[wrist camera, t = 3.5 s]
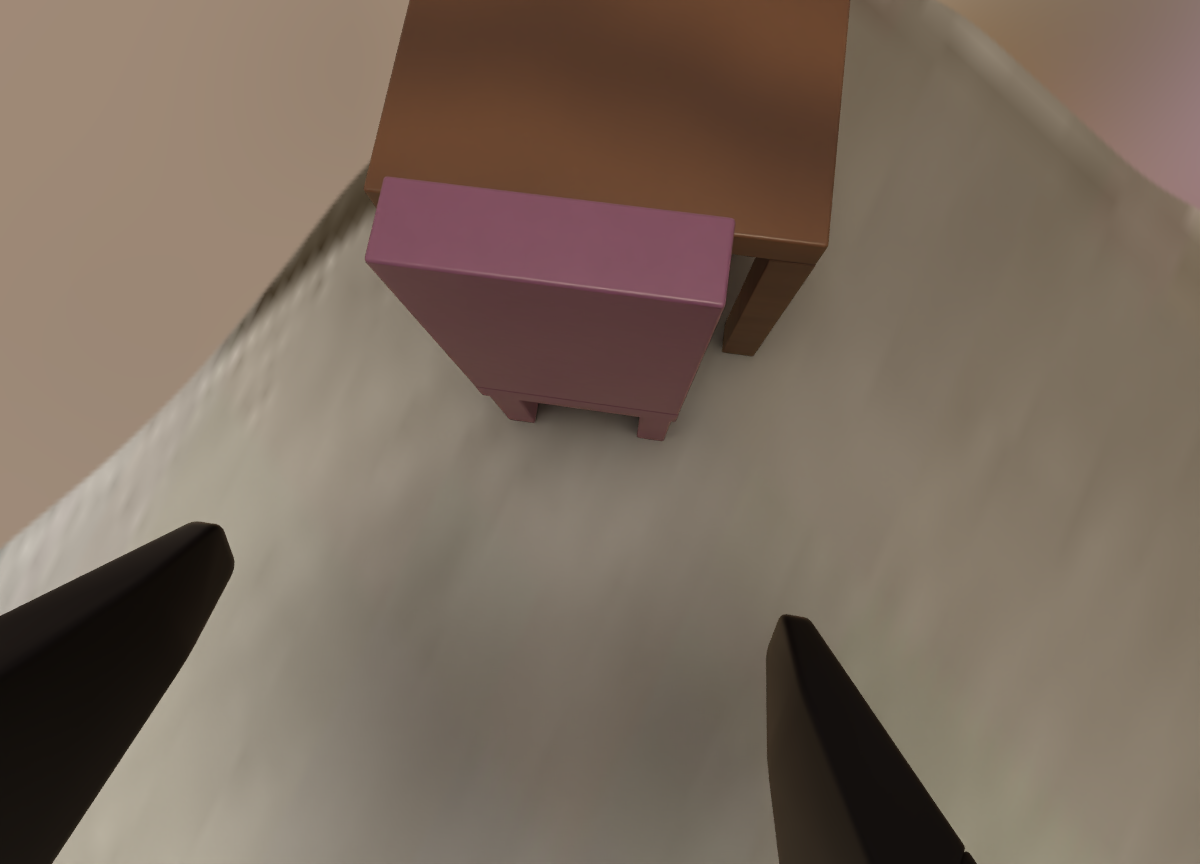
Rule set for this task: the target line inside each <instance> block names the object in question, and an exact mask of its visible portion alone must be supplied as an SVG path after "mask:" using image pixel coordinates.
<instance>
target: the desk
mask: <svg viewBox="0 0 1200 864" xmlns="http://www.w3.org/2000/svg"><path fill="white" fill-rule="evenodd" d="M849 8H850V0H410V1H409V5H408V9H407V13H406V17H405V21H404V25H403V29H402V33H401V37H400V42H399V46H398V50H397V54H396V58H395V62H394V66H393V70H392V75H391V78H390V83H389V87H388V91H387V95H386V99H385V103H384V107H383V112H382V116H381V120H380V124H379V128H378V132H377V136H376V140H375V144H374V148H373V153H372V156H371V161H370V165H369V169H368V173H367V177H366V181H365V185H364V192H365V193H366V194H367V196H368V197H369V199H370V200H371V201H372V203H373V204H374V206H375V207H376V208H377V204H378V200H379V196H380V192H381V188H382V183H383V179H384V178H385V177H387V176H388V177H396V178H405V179H413V180H421V181H430V182H438V183H446V184H454V185H463V186H471V187H479V188H488V189H496V190H504V191H513V192H521V193H529V194H538V195H546V196H554V197H562V198H571V199H579V200H587V201H596V202H604V203H612V204H621V205H629V206H637V207H645V208H654V209H662V210H670V211H679V212H687V213H695V214H704V215H712V216H720V217H728V218H733V219H734V220H735V230H734V239H733V247H732V254H733V255H741V256H749V257H756V258H755V260H754V262H753V264H752V267H751V269H750V271H749V273H748V275H747V277H746V279H745V282H744V284H743V286H742V288H741V290H740V292H739V295H738V297H737V299H736V301H735V303H734V305H733V307H732V310H731V312H730V314H729V316H728V318H727V320H726V323H725V329H724V337H723V345H722V352H726V353H733V354H741V355H748V356H754V354H755V353H756V351H757V350H758V348H759V347H760V345H761V344H762V342H763V341H764V340H765V338H766V337H767V335H768V334H769V332H770V331H771V329H772V328H773V326H774V325H775V324H776V322H777V321H778V319H779V318H780V316H781V315H782V313H783V312H784V310H785V309H786V308H787V306H788V305H789V303H790V302H791V300H792V299H793V297H794V296H795V294H796V293H797V292H798V290H799V289H800V287H801V286H802V284H803V283H804V281H805V280H806V278H807V277H808V276H809V274H810V273H811V271H812V270H813V268H814V267H815V265H816V263H817V262H818V260H819V259H820V257H821V256H822V254H823V253H824V251H825V250H826V248H827V247H828V242H829V231H830V220H831V208H832V197H833V186H834V175H835V164H836V153H837V142H838V131H839V119H840V108H841V97H842V86H843V75H844V64H845V53H846V42H847V30H848V19H849Z"/></svg>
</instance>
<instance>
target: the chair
mask: <svg viewBox="0 0 1200 864" xmlns="http://www.w3.org/2000/svg"><path fill="white" fill-rule="evenodd" d="M734 230H735V220H734V219H733V218H728V217H720V216H712V215H704V214H695V213H687V212H679V211H670V210H662V209H654V208H645V207H637V206H629V205H621V204H612V203H604V202H596V201H587V200H579V199H571V198H562V197H554V196H546V195H538V194H529V193H521V192H513V191H504V190H496V189H488V188H479V187H471V186H463V185H454V184H446V183H438V182H430V181H421V180H413V179H405V178H396V177H388V176H387V177H385V178H384V179H383V183H382V188H381V192H380V196H379V200H378V204H377V209H376V213H375V217H374V221H373V226H372V230H371V234H370V238H369V242H368V247H367V251H366V255H365V261H366V263H367V264H368V265H369V266H370V267H371V269H372V270H373V271H374V272H375V273H376V274H377V275H378V276H379V278H380V279H381V280H382V281H383V282H384V283H385V284H386V285H387V287H388V288H389V289H390V290H391V291H392V292H393V293H394V295H395V296H396V297H397V298H398V299H399V300H400V301H401V302H402V304H403V305H404V306H405V307H406V308H407V309H408V310H409V312H410V313H411V314H412V315H413V316H414V317H415V318H416V319H417V321H418V322H419V323H420V324H421V325H422V326H423V327H424V328H425V330H426V331H427V332H428V333H429V334H430V335H431V336H432V338H433V339H434V340H435V341H436V342H437V343H438V344H439V345H440V347H441V348H442V349H443V350H444V351H445V352H446V353H447V354H448V356H449V357H450V358H451V359H452V360H453V361H454V362H455V364H456V365H457V366H458V367H459V368H460V369H461V370H462V371H463V373H464V374H465V375H466V376H467V377H468V378H469V379H470V381H471V382H472V383H473V384H474V385H475V386H476V388H477V389H478V390H479V391H480V392H481V393H482V394H483V395H487V396H490V397H491V398H492V399H493V400H494V401H495V403H496V404H497V405H498V406H499V407H500V408H501V410H502V411H503V412H504V413H505V414H506V416H507V417H508V418H509V419H511V420H518V421H525V422H532V423H534V422H535V420H536V414H537V408H538V403H544V404H551V405H558V406H565V407H572V408H579V409H586V410H593V411H600V412H607V413H615V414H622V415H629V416H636V417H639V424H638V431H637V437H639V438H645V439H652V440H659V441H663V440H664V438H665V435H666V433H667V430H668V428H669V425H670V423H671V422H675V421H676V419H677V417H678V414H679V412H680V409H681V407H682V405H683V402H684V400H685V398H686V396H687V393H688V391H689V389H690V386H691V384H692V382H693V379H694V377H695V375H696V372H697V370H698V368H699V365H700V363H701V361H702V358H703V356H704V354H705V351H706V349H707V347H708V344H709V342H710V340H711V338H712V335H713V333H714V331H715V328H716V326H717V324H718V321H719V319H720V317H721V314H722V312H723V310H724V307H725V305H726V297H727V288H728V280H729V272H730V264H731V255H732V247H733V239H734Z"/></svg>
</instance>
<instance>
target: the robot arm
mask: <svg viewBox="0 0 1200 864" xmlns="http://www.w3.org/2000/svg"><path fill="white" fill-rule="evenodd" d="M233 570H234V557H233V554H232V552H231V549H230V546H229V543H228V541H227V538H226V535H225V532H224V530H223V529H222V527H220V526H219V525H217V524H211V523H205V522H191V523H188V524H186V525H184V526H182V527H180V528H178V529H176V530H174V531H172V532H170V533H168V534H166V535H164V536H162V537H160V538H158V539H156V540H154V541H151V542H149V543H147V544H145V545H143V546H141V547H139V548H137V549H135V550H133V551H131V552H129V553H127V554H125V555H123V556H121V557H119V558H117V559H115V560H113V561H111V562H109V563H107V564H105V565H103V566H101V567H99V568H97V569H95V570H93V571H91V572H89V573H87V574H85V575H82V576H80V577H78V578H76V579H74V580H72V581H70V582H68V583H66V584H64V585H62V586H60V587H58V588H56V589H54V590H52V591H50V592H48V593H46V594H44V595H42V596H40V597H38V598H36V599H34V600H32V601H30V602H28V603H26V604H24V605H22V606H20V607H18V608H15V609H13V610H11V611H9V612H7V613H5V614H3V615H1V616H0V864H52V863H53V861H54V860H55V858H56V857H57V855H58V854H59V852H60V851H61V849H62V848H63V846H64V845H65V843H66V842H67V840H68V839H69V837H70V836H71V834H72V833H73V831H74V830H75V828H76V827H77V825H78V824H79V822H80V821H81V819H82V818H83V816H84V814H85V813H86V811H87V810H88V808H89V807H90V805H91V804H92V802H93V801H94V799H95V798H96V796H97V795H98V793H99V792H100V790H101V789H102V787H103V786H104V784H105V783H106V781H107V780H108V778H109V777H110V775H111V774H112V772H113V771H114V769H115V768H116V766H117V765H118V763H119V762H120V760H121V759H122V757H123V756H124V754H125V752H126V751H127V749H128V748H129V746H130V745H131V743H132V742H133V740H134V739H135V737H136V736H137V734H138V733H139V731H140V730H141V728H142V727H143V725H144V724H145V722H146V721H147V719H148V718H149V716H150V715H151V713H152V712H153V710H154V709H155V707H156V706H157V704H158V703H159V701H160V700H161V698H162V697H163V695H164V693H165V692H166V690H167V689H168V687H169V686H170V684H171V683H172V681H173V680H174V678H175V677H176V675H177V674H178V672H179V671H180V669H181V667H182V666H183V664H184V663H185V661H186V659H187V658H188V656H189V654H190V652H191V651H192V649H193V647H194V645H195V644H196V642H197V640H198V638H199V636H200V634H201V632H202V630H203V628H204V627H205V625H206V623H207V621H208V619H209V617H210V615H211V613H212V611H213V609H214V608H215V606H216V604H217V602H218V600H219V598H220V596H221V594H222V592H223V590H224V589H225V587H226V585H227V583H228V581H229V579H230V577H231V575H232V573H233ZM766 712H767V762H768V773H769V782H770V791H771V799H772V807H773V815H774V824H775V832H776V840H777V849H778V857H779V864H977V863H976V862H975V860H974V859H973V857H972V856H971V855H970V853H968V852H964V850H965V847H964V845H963V843H962V842H961V840H960V839H959V837H958V836H957V834H956V833H955V831H954V830H953V829H952V827H951V826H950V824H949V823H948V821H947V820H946V818H945V817H944V815H943V814H942V812H941V811H940V809H939V808H938V807H937V805H936V804H935V802H934V801H933V799H932V798H931V796H930V795H929V793H928V792H927V790H926V789H925V787H924V786H923V785H922V783H921V782H920V780H919V779H918V777H917V776H916V774H915V773H914V771H913V770H912V768H911V767H910V765H909V764H908V763H907V761H906V760H905V758H904V757H903V755H902V754H901V752H900V751H899V749H898V748H897V746H896V745H895V743H894V742H893V741H892V739H891V738H890V736H889V735H888V733H887V732H886V730H885V729H884V727H883V726H882V724H881V723H880V721H879V720H878V719H877V717H876V716H875V714H874V713H873V711H872V710H871V708H870V707H869V705H868V704H867V702H866V701H865V699H864V698H863V697H862V695H861V694H860V692H859V691H858V689H857V688H856V686H855V685H854V683H853V682H852V680H851V679H850V677H849V676H848V675H847V673H846V672H845V670H844V669H843V667H842V666H841V664H840V663H839V661H838V660H837V658H836V657H835V655H834V654H833V653H832V651H831V650H830V648H829V647H828V645H827V644H826V642H825V641H824V639H823V638H822V636H821V635H820V633H819V632H818V631H817V629H816V628H815V626H814V625H813V623H812V622H811V621H810V620H809V619H807V618H805V617H800V616H793V615H787V614H784V615H782V616H781V617H780V618H779V620H778V622H777V625H776V627H775V630H774V632H773V635H772V638H771V640H770V643H769V645H768V649H767V655H766Z"/></svg>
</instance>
